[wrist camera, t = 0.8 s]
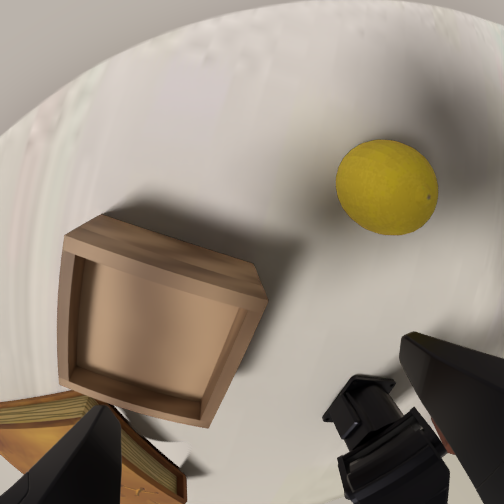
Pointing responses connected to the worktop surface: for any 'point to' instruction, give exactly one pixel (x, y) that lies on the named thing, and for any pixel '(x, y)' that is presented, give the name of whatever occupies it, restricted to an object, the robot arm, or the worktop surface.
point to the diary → (62, 420)
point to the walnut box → (152, 320)
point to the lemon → (387, 187)
